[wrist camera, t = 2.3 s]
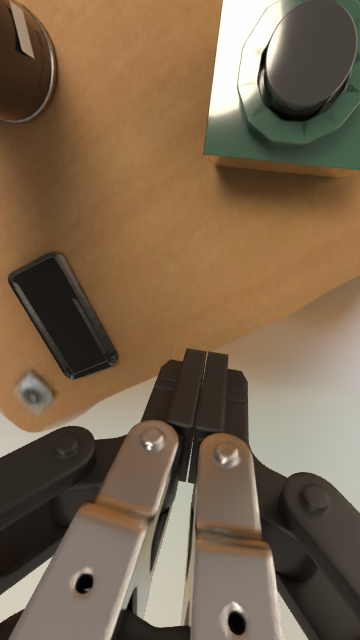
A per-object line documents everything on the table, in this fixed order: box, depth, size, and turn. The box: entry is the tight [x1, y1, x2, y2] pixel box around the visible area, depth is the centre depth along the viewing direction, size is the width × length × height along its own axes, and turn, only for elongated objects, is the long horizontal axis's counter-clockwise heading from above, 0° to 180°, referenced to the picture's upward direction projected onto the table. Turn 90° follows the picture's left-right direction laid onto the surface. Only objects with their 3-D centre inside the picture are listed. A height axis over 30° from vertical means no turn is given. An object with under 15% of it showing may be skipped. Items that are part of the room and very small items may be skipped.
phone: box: [8, 252, 118, 379], centre depth 38 cm, size 8×1×15 cm
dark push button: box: [263, 0, 357, 117], centre depth 17 cm, size 4×4×2 cm
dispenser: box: [203, 0, 360, 178], centre depth 22 cm, size 11×9×10 cm
